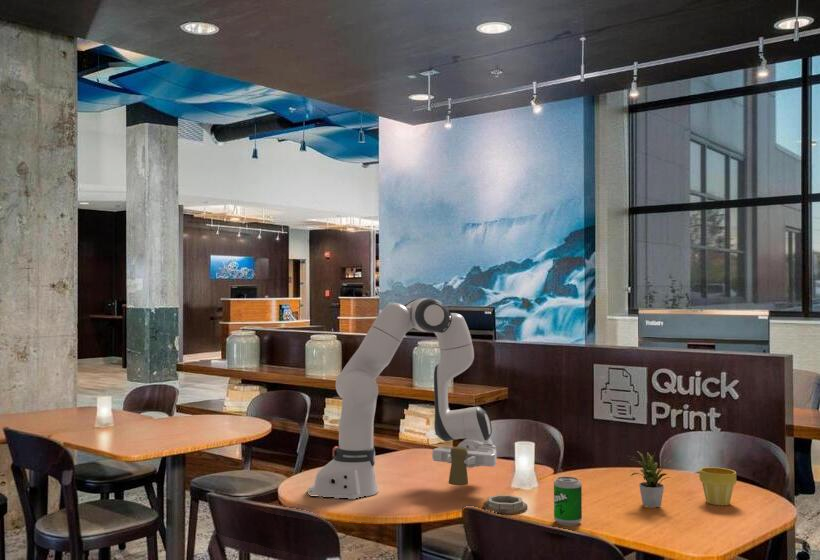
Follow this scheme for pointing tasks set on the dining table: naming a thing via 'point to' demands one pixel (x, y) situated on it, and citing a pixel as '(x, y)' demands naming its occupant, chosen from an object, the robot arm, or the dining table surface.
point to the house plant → (651, 482)
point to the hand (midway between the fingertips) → (457, 461)
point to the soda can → (567, 501)
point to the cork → (458, 467)
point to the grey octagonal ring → (505, 504)
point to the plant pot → (717, 484)
